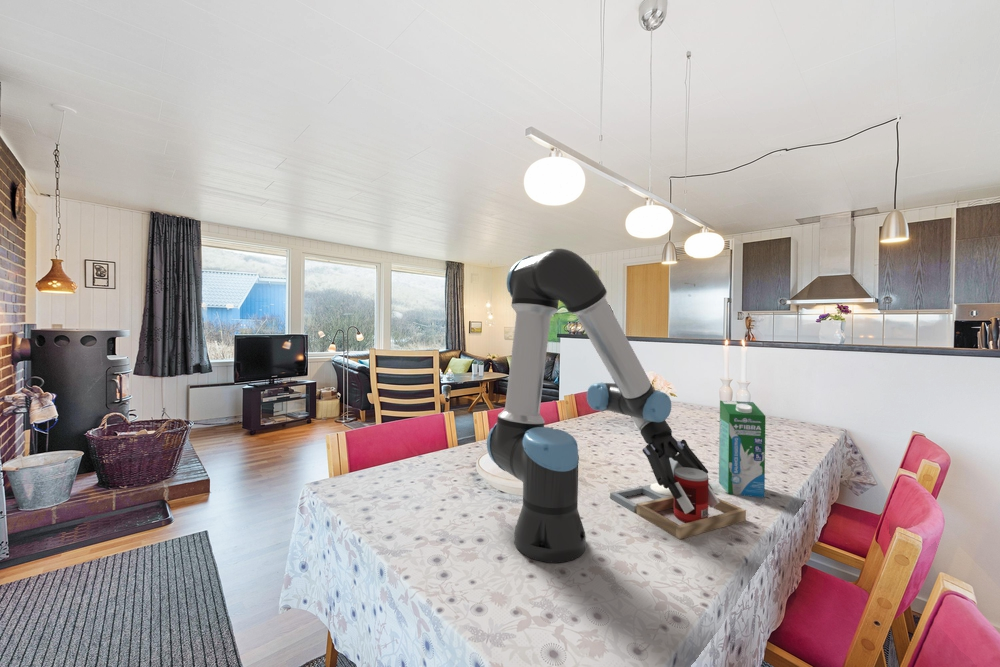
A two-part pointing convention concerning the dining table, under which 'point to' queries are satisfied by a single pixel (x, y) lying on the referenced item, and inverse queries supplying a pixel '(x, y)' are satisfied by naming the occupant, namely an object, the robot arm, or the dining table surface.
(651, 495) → the grey rectangular frame
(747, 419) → the milk carton
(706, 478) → the canned food
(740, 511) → the oak pen
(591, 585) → the dining table surface
